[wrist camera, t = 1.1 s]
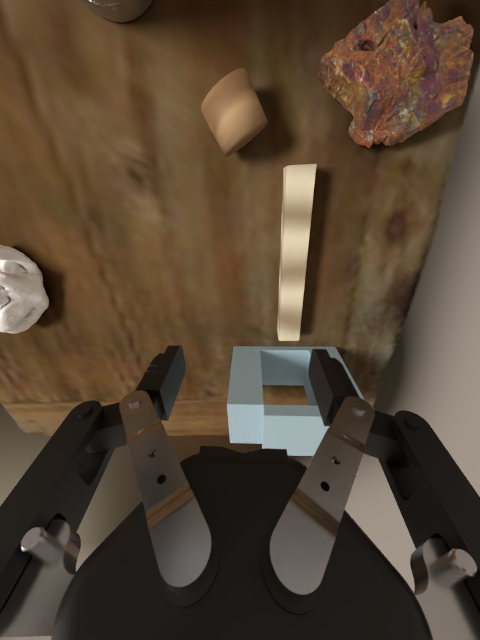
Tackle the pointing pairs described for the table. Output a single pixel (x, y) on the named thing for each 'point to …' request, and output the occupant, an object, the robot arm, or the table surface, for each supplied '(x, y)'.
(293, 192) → the long cream stick
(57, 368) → the table surface
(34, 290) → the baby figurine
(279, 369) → the light blue notched block
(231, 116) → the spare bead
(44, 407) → the table surface
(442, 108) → the mineral specimen
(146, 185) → the table surface
